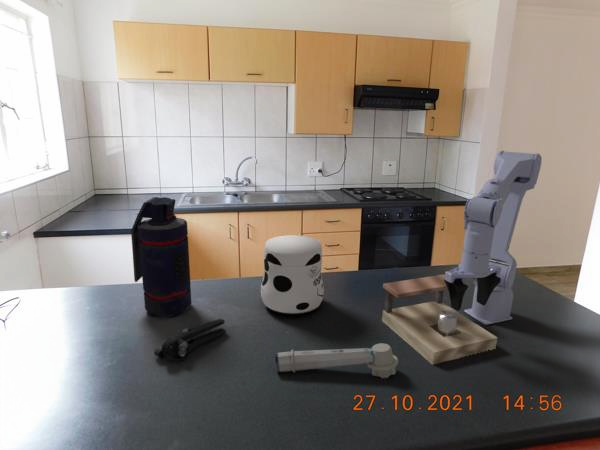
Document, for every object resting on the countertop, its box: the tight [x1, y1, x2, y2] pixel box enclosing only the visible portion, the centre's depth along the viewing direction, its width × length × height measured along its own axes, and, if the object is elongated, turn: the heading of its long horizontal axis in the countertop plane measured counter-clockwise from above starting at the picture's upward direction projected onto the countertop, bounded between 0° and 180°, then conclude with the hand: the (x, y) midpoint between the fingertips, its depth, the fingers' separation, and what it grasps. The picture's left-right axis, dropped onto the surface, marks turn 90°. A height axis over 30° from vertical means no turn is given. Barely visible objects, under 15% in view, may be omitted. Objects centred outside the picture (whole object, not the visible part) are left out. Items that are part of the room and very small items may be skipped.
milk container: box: [260, 234, 325, 316], centre depth 111 cm, size 17×17×18 cm
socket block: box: [381, 273, 498, 366], centre depth 99 cm, size 19×20×10 cm
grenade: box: [130, 196, 192, 318], centre depth 106 cm, size 14×12×30 cm
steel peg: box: [437, 311, 457, 337], centre depth 97 cm, size 4×4×7 cm
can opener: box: [153, 318, 226, 362], centre depth 92 cm, size 18×7×6 cm, turn 140°
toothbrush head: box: [275, 342, 399, 379], centre depth 85 cm, size 5×7×25 cm
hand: (468, 306), depth 95 cm, fingers open, 7 cm apart
